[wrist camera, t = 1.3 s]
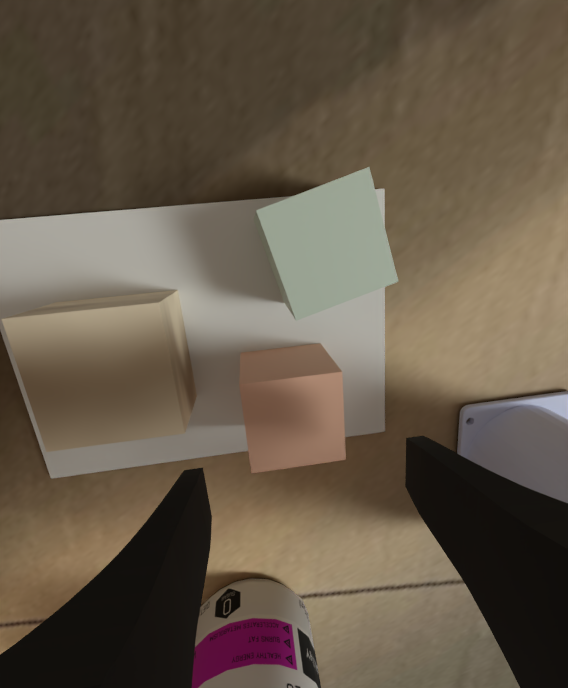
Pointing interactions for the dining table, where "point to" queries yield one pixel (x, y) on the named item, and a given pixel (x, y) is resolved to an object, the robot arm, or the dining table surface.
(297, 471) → the dining table surface
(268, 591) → the supplement can
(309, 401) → the terracotta block
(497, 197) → the dining table surface
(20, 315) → the birch base block
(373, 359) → the mat
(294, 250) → the sage block
